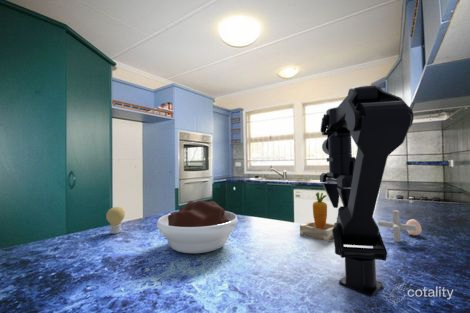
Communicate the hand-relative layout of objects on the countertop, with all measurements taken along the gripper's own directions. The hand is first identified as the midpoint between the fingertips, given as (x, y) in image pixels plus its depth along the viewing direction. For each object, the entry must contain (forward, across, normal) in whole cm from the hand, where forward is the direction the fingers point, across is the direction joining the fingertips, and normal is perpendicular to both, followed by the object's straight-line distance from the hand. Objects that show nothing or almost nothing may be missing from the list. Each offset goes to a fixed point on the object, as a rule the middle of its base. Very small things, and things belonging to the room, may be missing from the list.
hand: (341, 211), depth 60 cm
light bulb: (+13, +19, +78) cm, 82 cm away
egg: (+14, +23, -33) cm, 43 cm away
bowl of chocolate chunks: (+13, +6, +42) cm, 44 cm away
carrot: (+12, +21, 0) cm, 24 cm away
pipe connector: (+13, +16, -23) cm, 31 cm away
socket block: (+13, +21, 0) cm, 25 cm away
